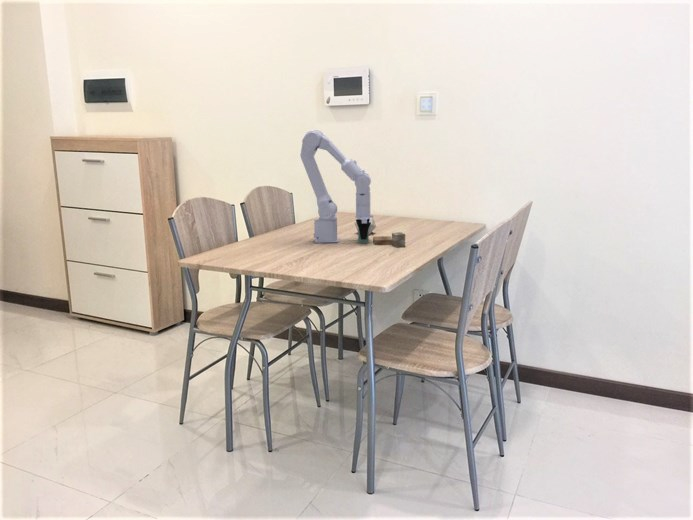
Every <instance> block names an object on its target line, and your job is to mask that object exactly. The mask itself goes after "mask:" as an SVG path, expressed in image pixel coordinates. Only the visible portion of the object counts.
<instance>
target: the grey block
mask: <svg viewBox="0 0 693 520" xmlns="http://www.w3.org/2000/svg"><path fill="white" fill-rule="evenodd" d="M391 238H392V245H391V246H392V247H393V248H405V247H406V233H404V232H402V231H399V232H391Z"/></svg>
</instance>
